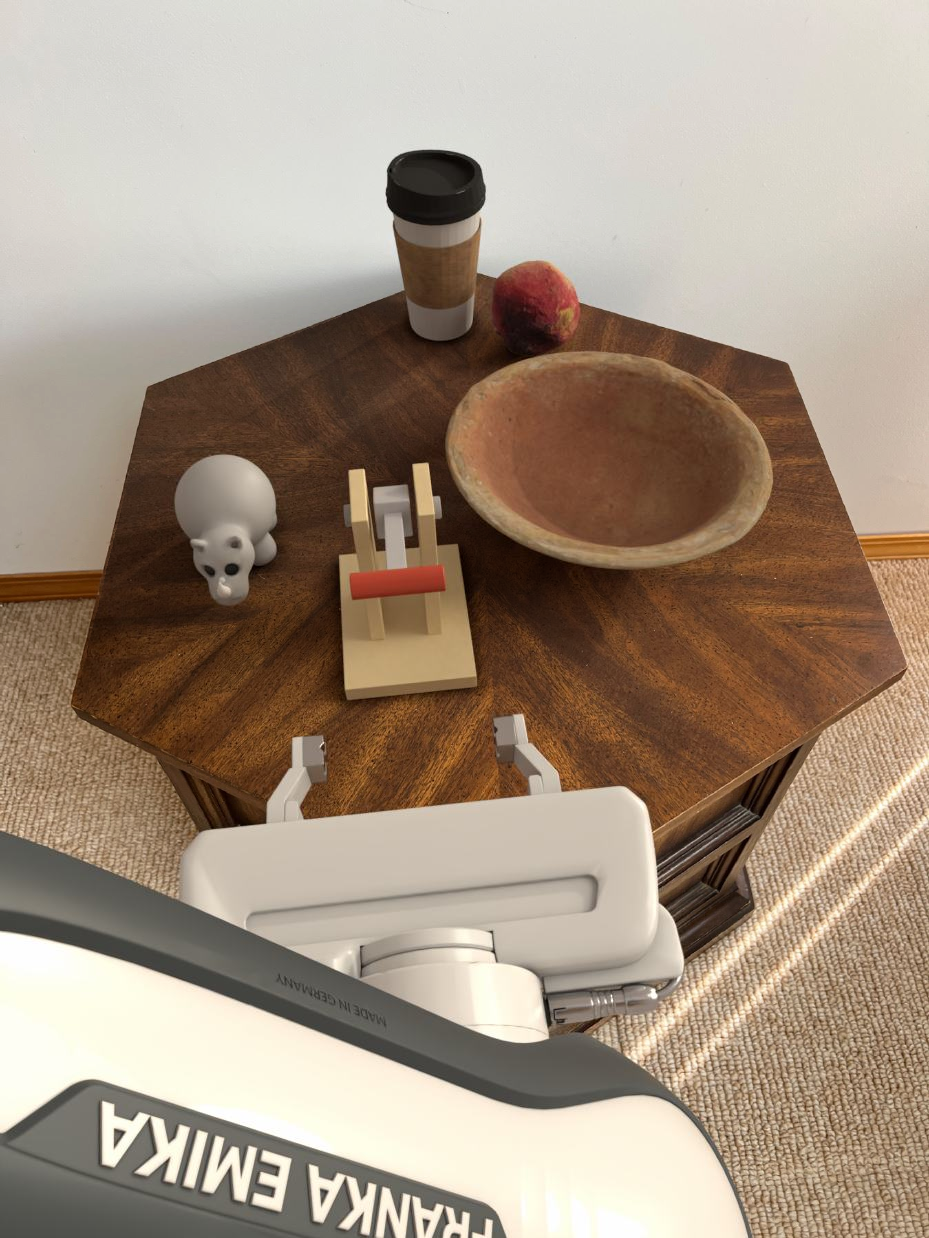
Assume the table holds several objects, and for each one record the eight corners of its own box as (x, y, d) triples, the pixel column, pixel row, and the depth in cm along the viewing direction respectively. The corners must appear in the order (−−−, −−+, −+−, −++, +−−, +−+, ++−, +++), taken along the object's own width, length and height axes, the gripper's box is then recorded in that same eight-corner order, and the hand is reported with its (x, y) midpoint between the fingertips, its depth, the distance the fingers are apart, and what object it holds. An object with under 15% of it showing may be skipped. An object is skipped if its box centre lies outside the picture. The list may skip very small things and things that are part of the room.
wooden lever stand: (476, 687, 65) (475, 559, 54) (346, 700, 65) (318, 574, 54) (458, 555, 72) (453, 418, 61) (341, 566, 72) (314, 430, 61)
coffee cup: (394, 298, 92) (380, 145, 80) (480, 291, 92) (479, 138, 80) (400, 353, 87) (386, 199, 75) (491, 345, 87) (492, 191, 75)
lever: (447, 603, 50) (443, 563, 49) (353, 612, 50) (348, 572, 49) (432, 517, 61) (429, 482, 60) (355, 524, 61) (350, 489, 59)
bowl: (803, 595, 70) (836, 523, 63) (493, 665, 66) (494, 596, 60) (682, 391, 83) (698, 314, 77) (419, 440, 80) (414, 364, 73)
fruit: (585, 332, 88) (593, 255, 82) (560, 383, 84) (566, 306, 78) (507, 314, 90) (508, 238, 83) (478, 363, 86) (478, 286, 79)
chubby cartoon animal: (183, 639, 68) (149, 564, 61) (197, 516, 75) (168, 436, 68) (283, 631, 68) (260, 555, 62) (287, 509, 75) (267, 429, 69)
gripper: (712, 985, 35) (632, 673, 43) (153, 1052, 34) (179, 719, 42) (682, 1026, 40) (615, 740, 48) (195, 1085, 39) (211, 782, 47)
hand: (409, 730), depth 45 cm, fingers open, 8 cm apart
